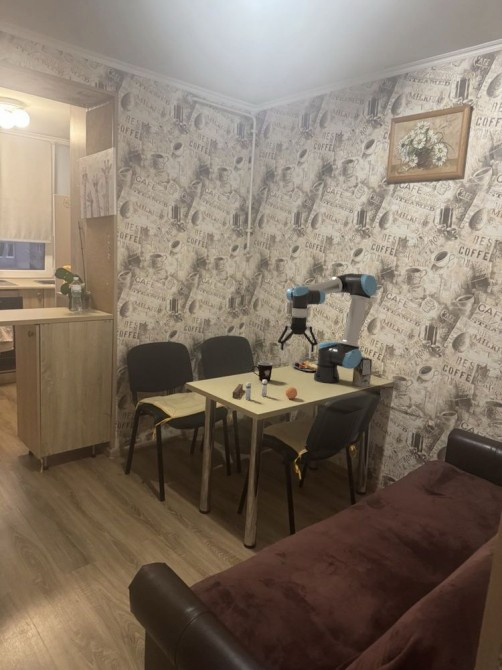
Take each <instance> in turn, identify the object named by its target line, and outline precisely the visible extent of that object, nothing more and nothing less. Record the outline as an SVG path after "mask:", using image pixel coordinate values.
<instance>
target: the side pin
mask: <svg viewBox="0 0 502 670" xmlns="http://www.w3.org/2000/svg"><path fill="white" fill-rule="evenodd" d="M251 389H252V383H251V382H248V381H247V382H245V400H246V401H251V396H252V395H251V393H252V392H251Z"/></svg>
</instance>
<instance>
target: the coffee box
mask: <svg viewBox="0 0 502 670" xmlns="http://www.w3.org/2000/svg"><path fill="white" fill-rule="evenodd" d="M372 361H373V359H372V358H369V357H366V356H363V355H362V358H361V361H360V363H359V365H358V366H356V367H355V368H353V371H352V384H353V385H356V386H358V387H360V388H367V387H369V388H370V386H371V376H372V366H373V365H372V363H373V362H372Z"/></svg>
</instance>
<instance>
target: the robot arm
mask: <svg viewBox="0 0 502 670" xmlns="http://www.w3.org/2000/svg"><path fill="white" fill-rule="evenodd" d="M377 290H378V283H377V280H376V277H375V276H373V275H371V274H366V273H345V274H341V275H337V276H332V278H330V279H329V280H324V281H320V282H316V283H313V284H307V285H295V286H294V287H290V288H288V289H287V290H286V294H285V296H286V299H287V300H288V301H289V302H292V311H291V315H292V316H291V323H290V324H291V325H288V324H286V325H284V330H283V331H282V333H281V334H280V336H279V337H278V340H277V343H278V344H280V345H281V346H280V350H281V351H282V357H283V358H285V352H286V344H285V343H286V342H287V341H288V340H289V339H291V337H292V336H294V335H295V336H298V335H299V336H301V335H303V336H304V337H305V338H306V340H307V341H308V342H309V352H308V358H309V359H310V360H311V359H312V353H314V351H315V346H317V345H318V349H317V351H318V352H317V362H318V366H317V369H316V372H315V371H314V375H313V380H314V381H316V382H320V383H325V384H326V383H327V384H334V383H338V382H339V383H340V374H339V369H338V367H341V368H344V369H348V370H349V369H350V370H351V369H354V368H355V367H356V366H358V365H359V363H360V361H361V358H362V356H363V355H362V351H361V350H360V345H359V344H358V343H359V339H360V333H361V329H362V324H363V320H364V315H365V311H366V306H367V303H368V301H370V300H371V297H373V296H375V294H376V293H377ZM339 293H341V294H342V293H343V294H349V297H350V298H351V299H350V305H349V308H348V309H349V310H348V314H347V319H346V323H345V327H344V332H343V335H342V340H340V341H321V342H320V343H318V341H317V339H316V336H315V333H314V331H313V326H311V325H309V326H307V318H308V317H307V316H308V306H309V305H311V306H312V305H322V304H323V303H325V301H326V295H329V294H339ZM289 329H290V330H291V331H290V332H289V333H288V334H287V331H289ZM307 330H308V332H309V333H310V336H311V337H312V339H311V338H310V337H309V335H308V334H307V333H306V331H307ZM286 334H287V336H285V335H286ZM283 338H284V339H283ZM312 340H313V341H312Z"/></svg>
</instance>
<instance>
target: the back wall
mask: <svg viewBox="0 0 502 670" xmlns="http://www.w3.org/2000/svg"><path fill="white" fill-rule="evenodd" d="M243 386H244V384H242V383H239V384H238V385H237V386H236V387H235V389H234V390H232V398H233V399H237V398H238V397H239V395H240V394H241V393H242V392H243V389H244V387H243Z"/></svg>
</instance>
